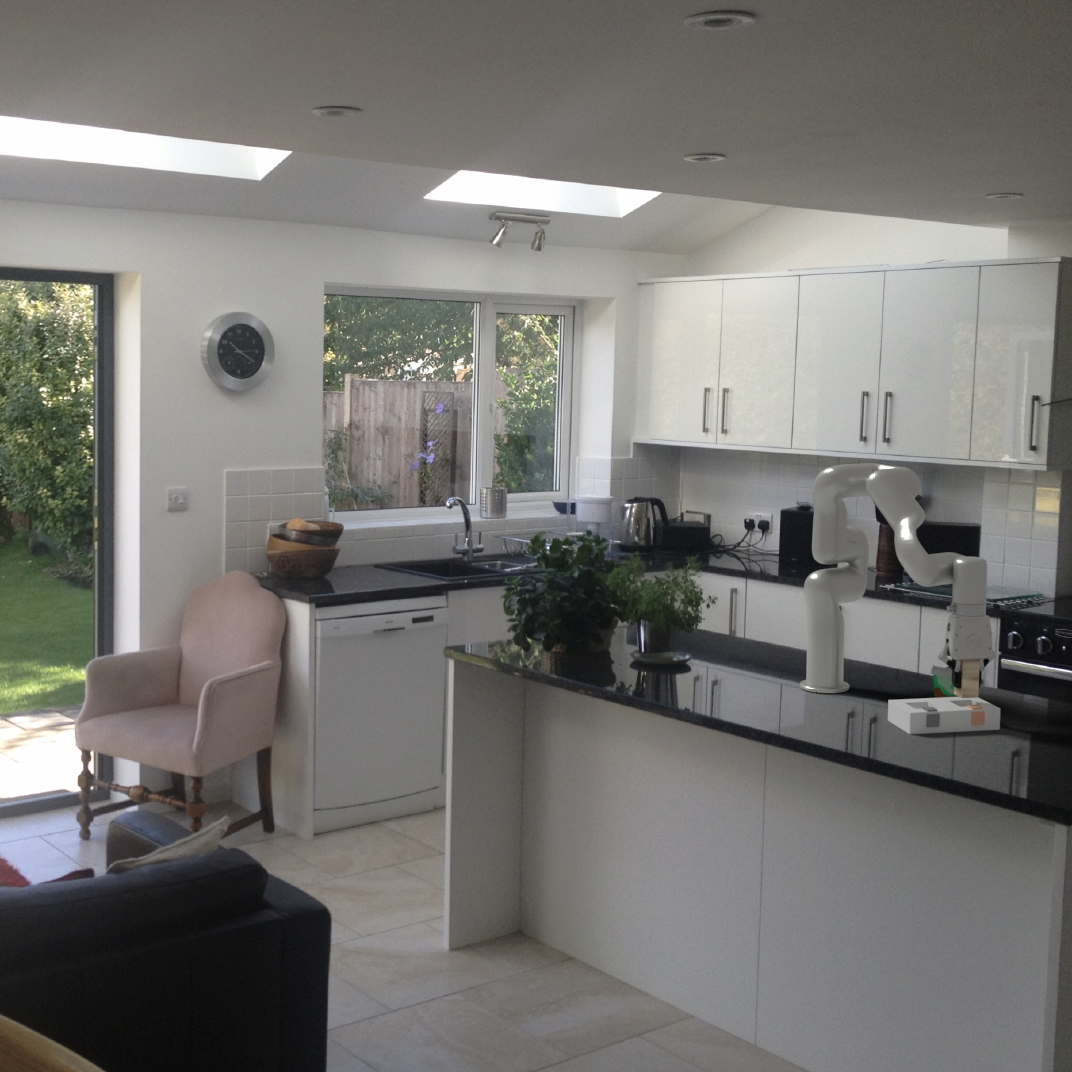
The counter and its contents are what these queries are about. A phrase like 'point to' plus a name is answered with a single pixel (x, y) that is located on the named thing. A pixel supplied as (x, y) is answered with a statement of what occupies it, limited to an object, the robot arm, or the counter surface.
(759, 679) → the counter surface
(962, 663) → the plug
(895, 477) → the robot arm
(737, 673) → the counter surface
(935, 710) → the socket block
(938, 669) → the food container
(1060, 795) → the counter surface
